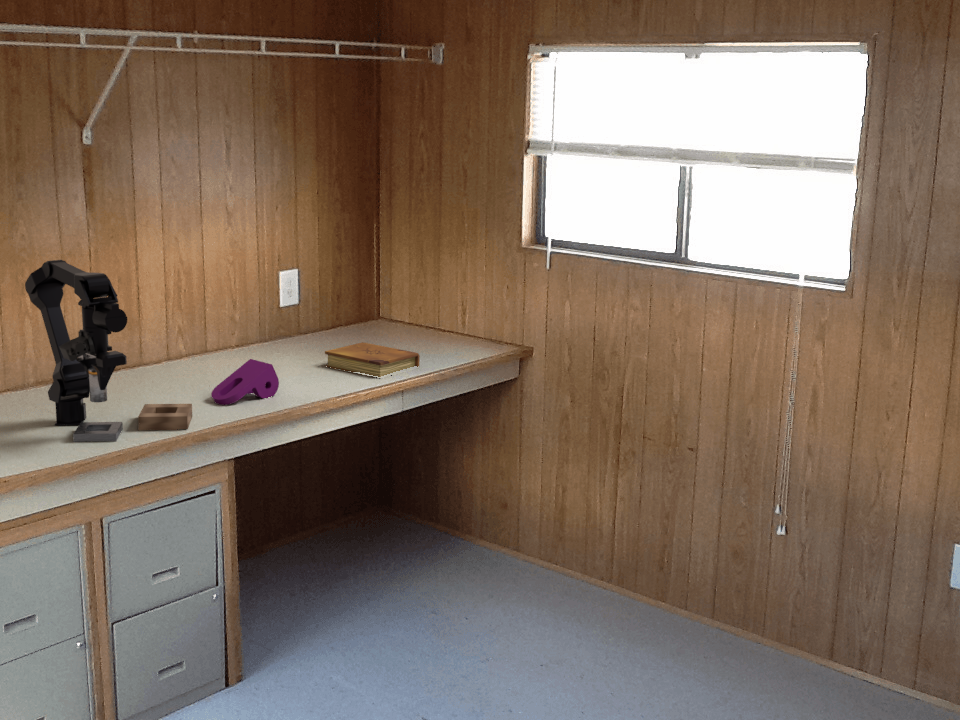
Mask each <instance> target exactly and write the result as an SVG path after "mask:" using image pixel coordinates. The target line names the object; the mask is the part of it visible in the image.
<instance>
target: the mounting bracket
mask: <svg viewBox="0 0 960 720" xmlns="http://www.w3.org/2000/svg"><path fill="white" fill-rule="evenodd" d="M279 386H280V381H279V378H278V374H277V373H276V370H275V368H274V366H273V364H272V363H268V362H264V361H259V360H257V359H252V358H249V360H247V361H245V362H244V363H243V364H242V365H240V367H238V368H237V369H235V370H234V372H232V373H231V374H229V376H227V377H226V378H225V379H223V380H222V381H221V382H220V383H219V384H217V385H216V386H215V387H214V388H213V389H212V390H211V394H210V396H211V398H212V400H213V402H214V404H216V405H220V406H229V405H231V404H234V403H237V402H238V401H239V400H241V399H242V398H243V397H245V396H246V395H251V393H252V394H253V395H254V396H255V397H257V398H260V399H264V398H266V399H269V398H268V397H270V398H272V397H271V396H273V397H274V396H275V395H276V393H277V392H278V389H279V388H280V387H279ZM264 400H265V399H264Z"/></svg>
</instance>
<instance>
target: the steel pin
mask: <svg viewBox="0 0 960 720" xmlns="http://www.w3.org/2000/svg"><path fill="white" fill-rule="evenodd" d="M88 372H89V387H90V393H89V401H90V403H105V402H107V401H108V388H107V387H108V385H107V386H106V389H105V390H100V387H99V382H98V376H97V370H96V369H95V368H94V367H91V368H89V370H88Z"/></svg>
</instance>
